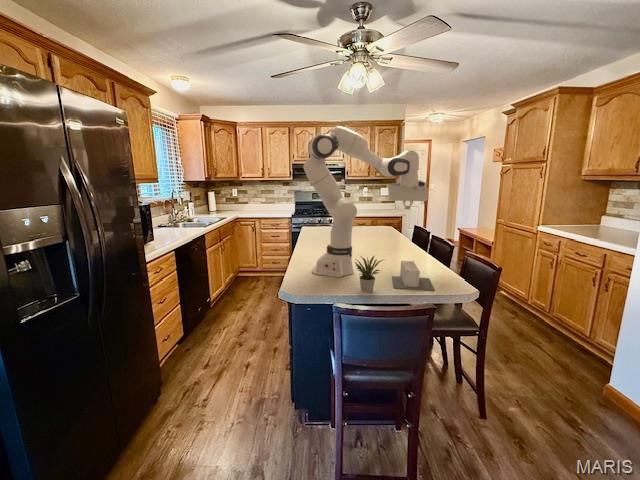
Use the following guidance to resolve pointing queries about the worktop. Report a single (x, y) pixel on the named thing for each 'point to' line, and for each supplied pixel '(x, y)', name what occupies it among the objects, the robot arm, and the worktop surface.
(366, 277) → the house plant
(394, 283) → the mat
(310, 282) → the worktop surface
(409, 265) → the skincare box
